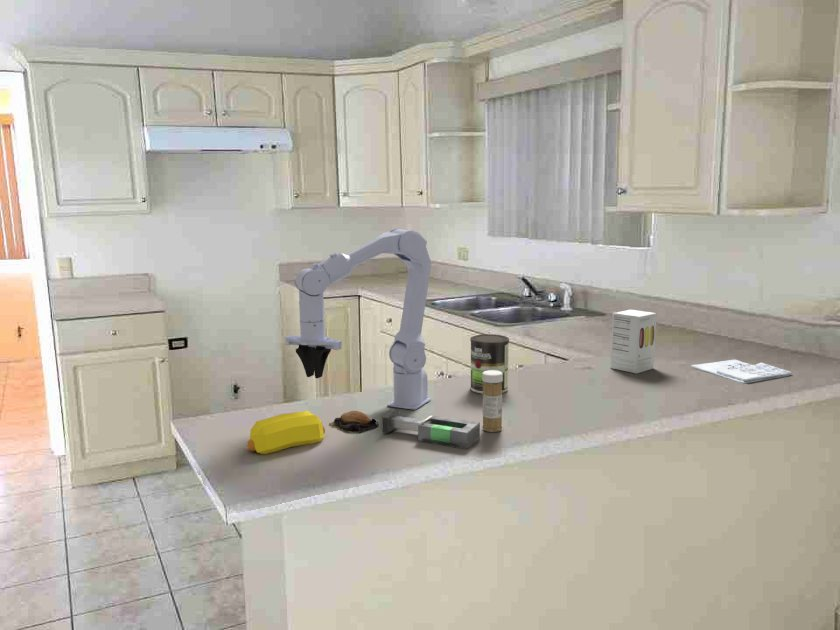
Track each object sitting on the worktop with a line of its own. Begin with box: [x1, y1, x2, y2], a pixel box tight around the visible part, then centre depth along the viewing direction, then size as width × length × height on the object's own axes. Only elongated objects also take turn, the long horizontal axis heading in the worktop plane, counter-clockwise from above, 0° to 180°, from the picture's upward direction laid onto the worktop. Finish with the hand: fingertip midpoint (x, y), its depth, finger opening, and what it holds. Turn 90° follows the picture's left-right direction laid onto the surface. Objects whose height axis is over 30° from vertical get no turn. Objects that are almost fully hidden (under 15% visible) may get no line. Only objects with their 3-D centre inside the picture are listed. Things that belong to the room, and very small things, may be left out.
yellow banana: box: [246, 410, 326, 455], centre depth 157 cm, size 18×7×8 cm
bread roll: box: [328, 410, 379, 434], centre depth 170 cm, size 11×8×4 cm
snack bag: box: [690, 359, 793, 385], centre depth 212 cm, size 19×20×2 cm
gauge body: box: [417, 415, 481, 450], centre depth 159 cm, size 7×12×4 cm, turn 64°
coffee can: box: [469, 333, 510, 395], centre depth 196 cm, size 10×10×14 cm
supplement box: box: [609, 309, 657, 375], centre depth 215 cm, size 10×9×17 cm
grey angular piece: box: [381, 409, 434, 435], centre depth 164 cm, size 6×10×4 cm, turn 64°
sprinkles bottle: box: [481, 370, 503, 433], centre depth 165 cm, size 5×5×13 cm
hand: (314, 376), depth 173 cm, fingers closed
